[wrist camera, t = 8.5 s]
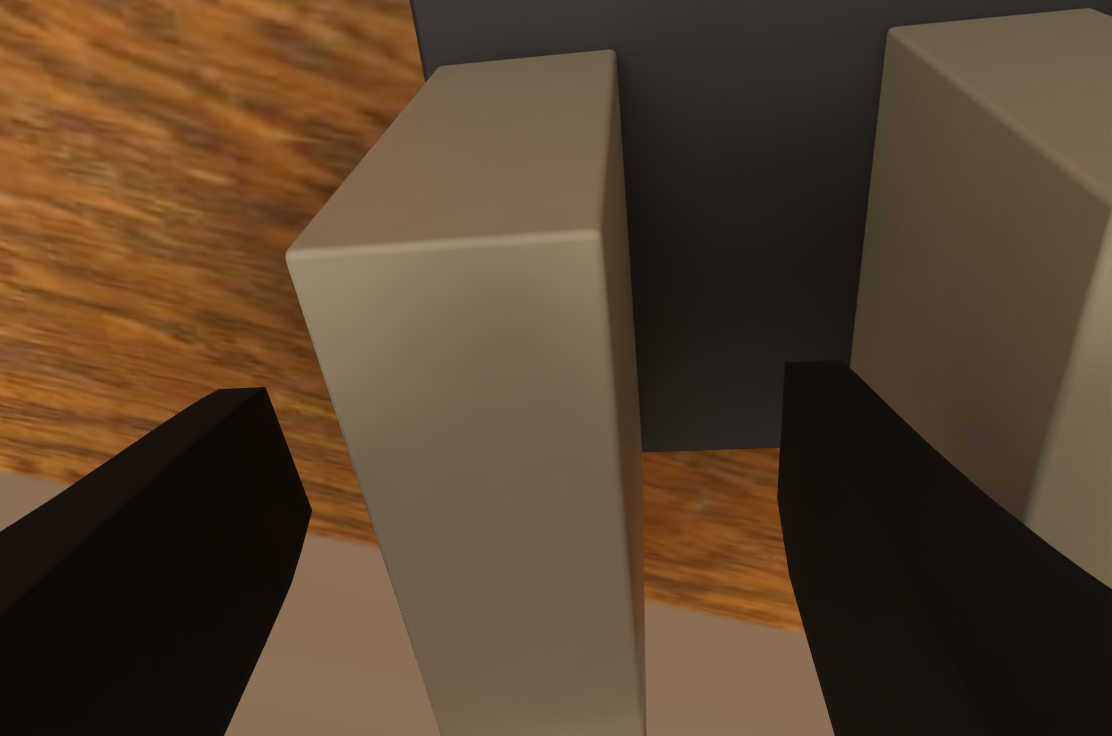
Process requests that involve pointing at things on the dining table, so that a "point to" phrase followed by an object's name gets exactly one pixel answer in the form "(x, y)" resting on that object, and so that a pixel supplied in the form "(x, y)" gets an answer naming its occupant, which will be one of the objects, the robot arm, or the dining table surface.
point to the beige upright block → (999, 262)
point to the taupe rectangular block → (495, 390)
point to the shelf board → (727, 178)
